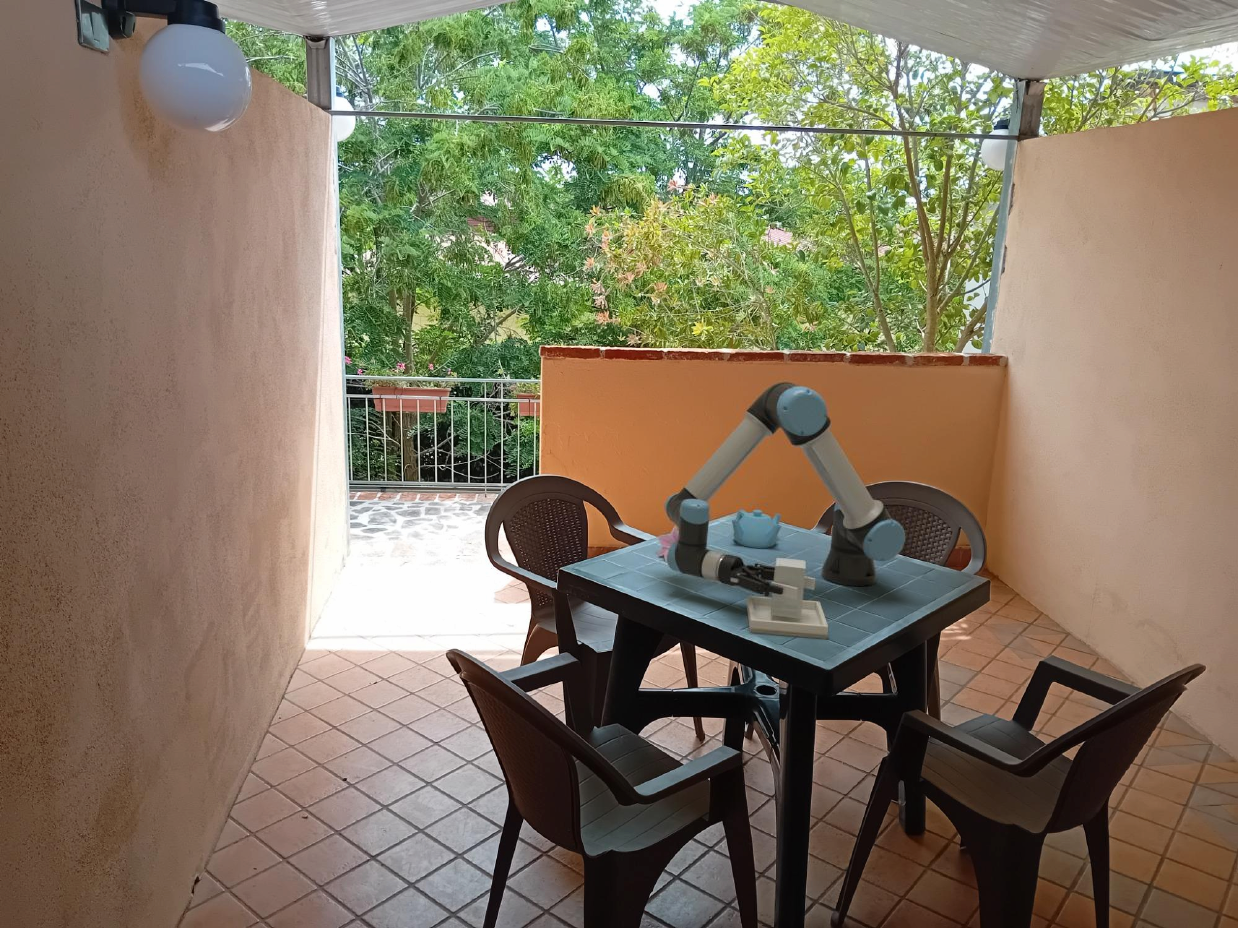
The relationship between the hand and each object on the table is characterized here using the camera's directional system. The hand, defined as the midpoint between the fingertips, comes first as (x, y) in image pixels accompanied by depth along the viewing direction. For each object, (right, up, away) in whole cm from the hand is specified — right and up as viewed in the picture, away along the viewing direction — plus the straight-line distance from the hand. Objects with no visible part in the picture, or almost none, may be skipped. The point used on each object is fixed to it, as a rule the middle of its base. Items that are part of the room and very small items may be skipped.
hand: (805, 588), depth 226 cm
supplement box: (-4, -6, +4) cm, 8 cm away
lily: (-29, +2, +53) cm, 60 cm away
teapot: (-1, +5, +74) cm, 74 cm away
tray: (-4, -9, +4) cm, 11 cm away
